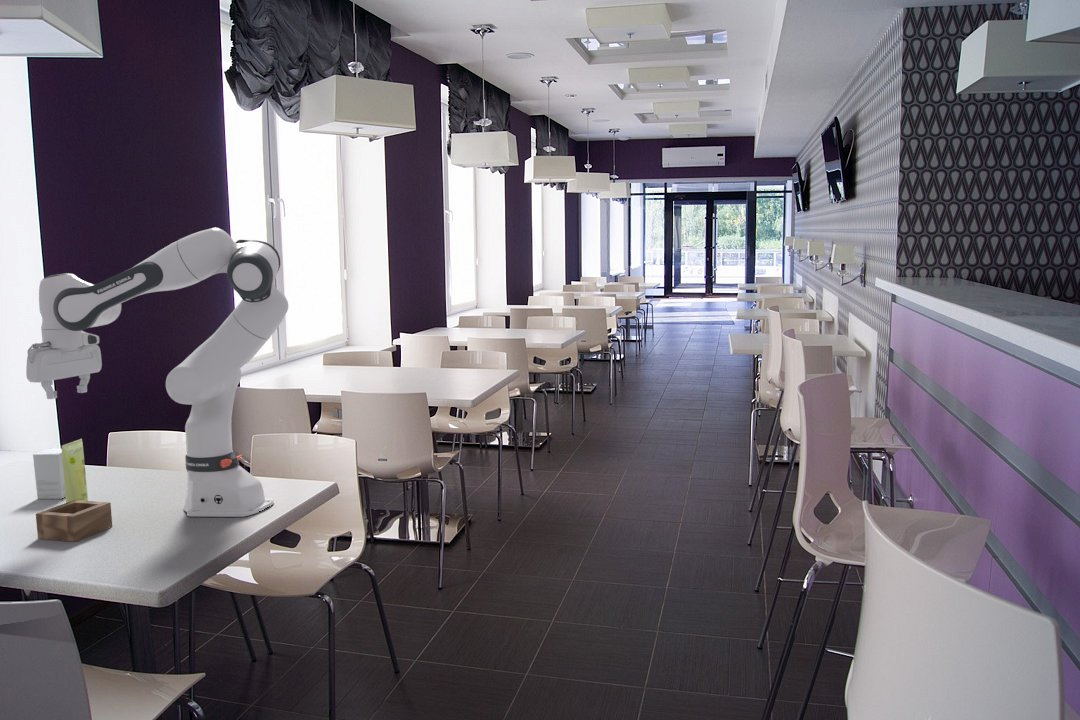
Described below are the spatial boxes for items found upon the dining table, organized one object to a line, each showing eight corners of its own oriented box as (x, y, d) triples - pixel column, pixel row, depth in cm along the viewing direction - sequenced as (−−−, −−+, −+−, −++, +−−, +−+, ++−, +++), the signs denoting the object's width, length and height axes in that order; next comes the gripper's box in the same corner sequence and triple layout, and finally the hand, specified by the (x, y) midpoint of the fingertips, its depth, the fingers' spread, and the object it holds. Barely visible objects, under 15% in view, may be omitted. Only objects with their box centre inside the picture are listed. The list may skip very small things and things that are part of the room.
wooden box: (112, 526, 210) (110, 502, 210) (75, 541, 199) (72, 516, 199) (76, 523, 213) (74, 499, 213) (37, 538, 202) (35, 513, 201)
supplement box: (78, 492, 243) (74, 447, 241) (61, 499, 235) (57, 454, 234) (53, 491, 244) (50, 447, 242) (36, 499, 236) (32, 453, 235)
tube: (90, 518, 217) (84, 442, 215) (68, 522, 214) (61, 445, 212) (88, 513, 222) (81, 438, 220) (65, 516, 219) (59, 441, 217)
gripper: (38, 344, 202) (43, 403, 204) (104, 336, 222) (108, 389, 223) (16, 344, 204) (22, 402, 206) (84, 335, 223) (88, 389, 225)
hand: (67, 395), depth 215 cm, fingers open, 8 cm apart
